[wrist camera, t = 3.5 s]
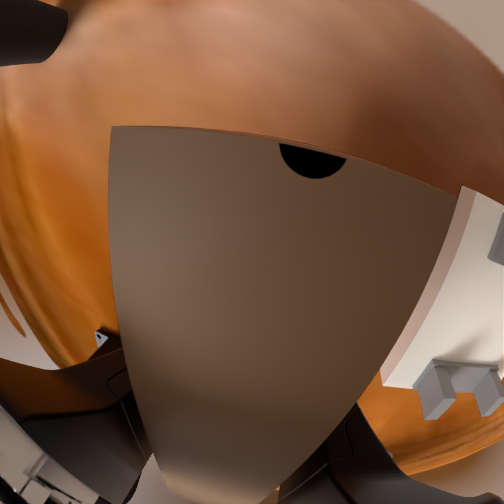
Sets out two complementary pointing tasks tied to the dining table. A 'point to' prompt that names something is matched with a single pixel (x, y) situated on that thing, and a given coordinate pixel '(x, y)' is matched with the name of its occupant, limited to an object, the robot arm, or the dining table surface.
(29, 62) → the drinking cup
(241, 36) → the dining table surface
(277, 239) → the door
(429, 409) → the side panel
